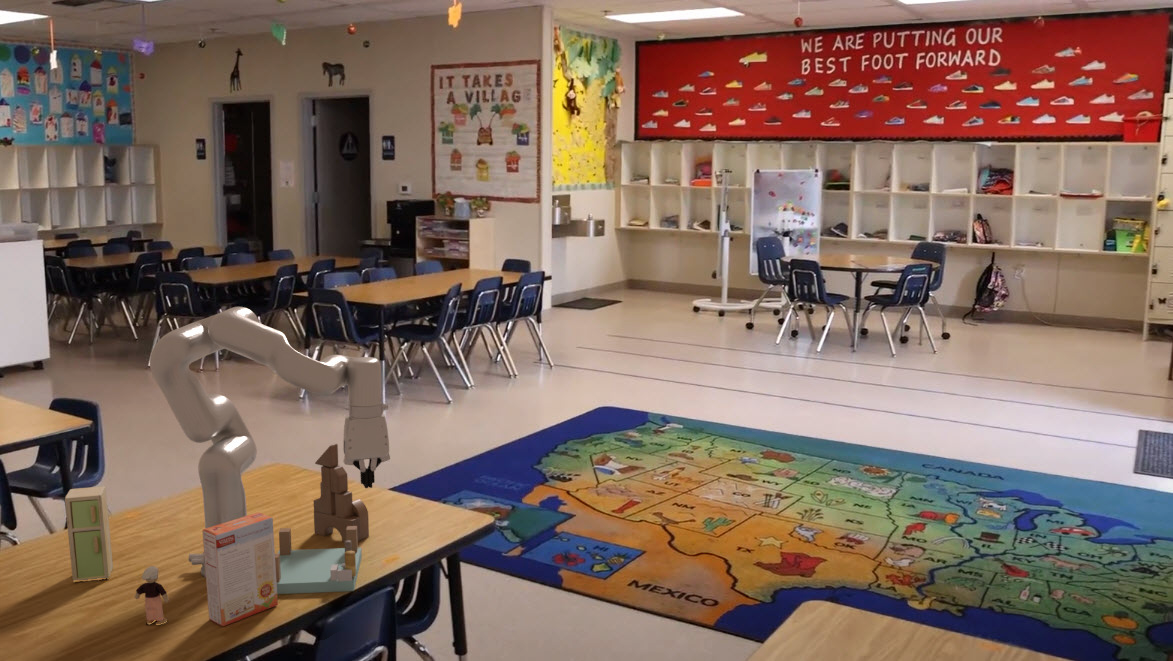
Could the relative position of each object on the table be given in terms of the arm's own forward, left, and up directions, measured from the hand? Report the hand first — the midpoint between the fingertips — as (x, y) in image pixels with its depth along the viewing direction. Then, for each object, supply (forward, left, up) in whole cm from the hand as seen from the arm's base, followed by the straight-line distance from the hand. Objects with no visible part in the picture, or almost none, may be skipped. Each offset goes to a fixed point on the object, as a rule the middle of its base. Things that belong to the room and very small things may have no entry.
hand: (367, 486), depth 249 cm
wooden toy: (-10, +27, -22) cm, 37 cm away
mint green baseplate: (-13, +1, -22) cm, 26 cm away
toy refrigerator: (-65, +5, -22) cm, 69 cm away
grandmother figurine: (-44, -21, -22) cm, 54 cm away
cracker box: (-26, -18, -22) cm, 39 cm away
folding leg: (-4, -4, -19) cm, 20 cm away
